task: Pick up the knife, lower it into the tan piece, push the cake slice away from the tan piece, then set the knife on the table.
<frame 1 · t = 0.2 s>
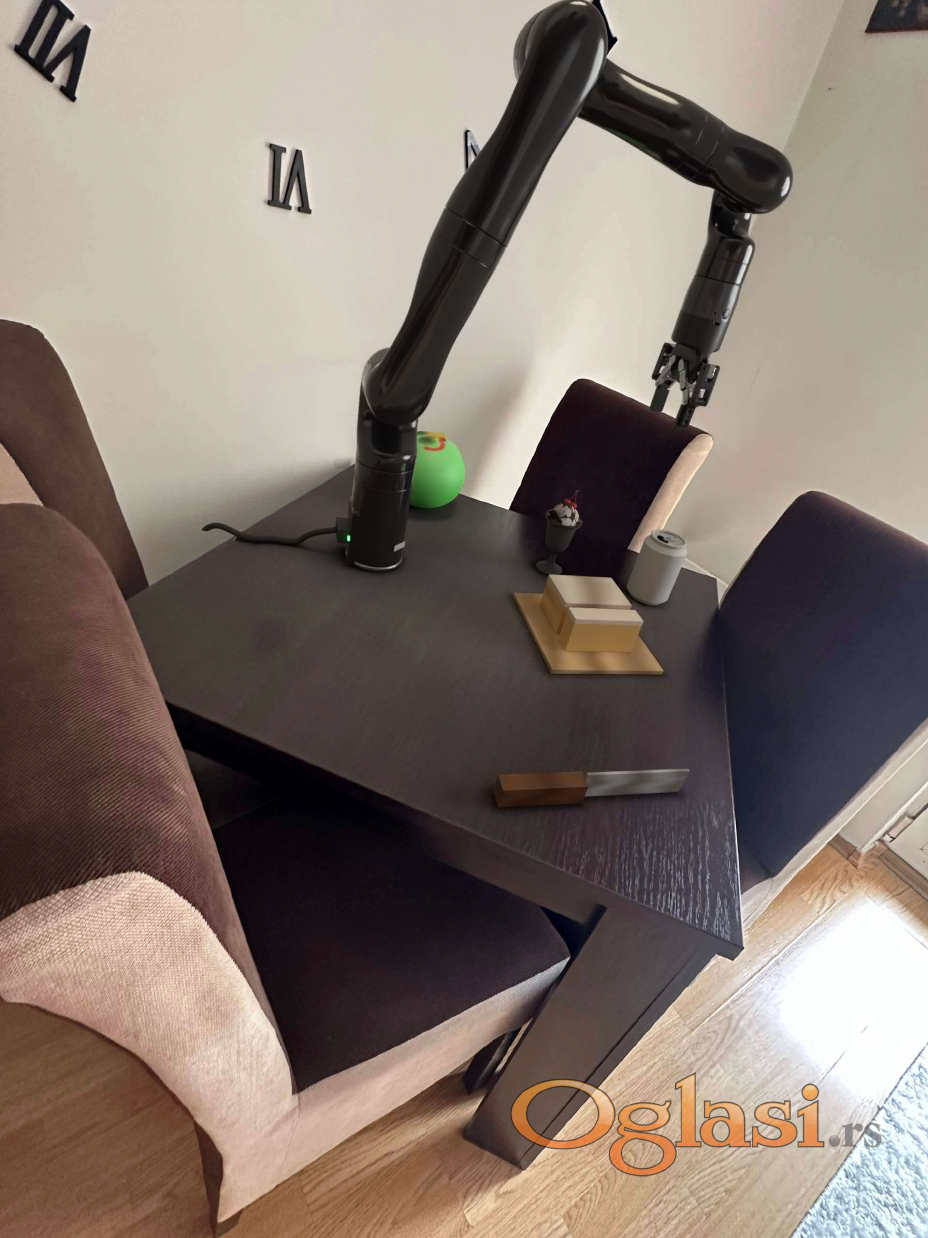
hand: (667, 419, 106), 29 cm above the table, tool pointing down, fingers open, 8 cm apart
toy bird: (416, 502, 132), on the table
cake slice: (594, 645, 98), point 1 cm above the table, touching tan piece
tan piece: (583, 633, 102), on the table
knife: (578, 795, 74), on the table
can: (645, 596, 117), on the table
sundae: (548, 569, 118), on the table
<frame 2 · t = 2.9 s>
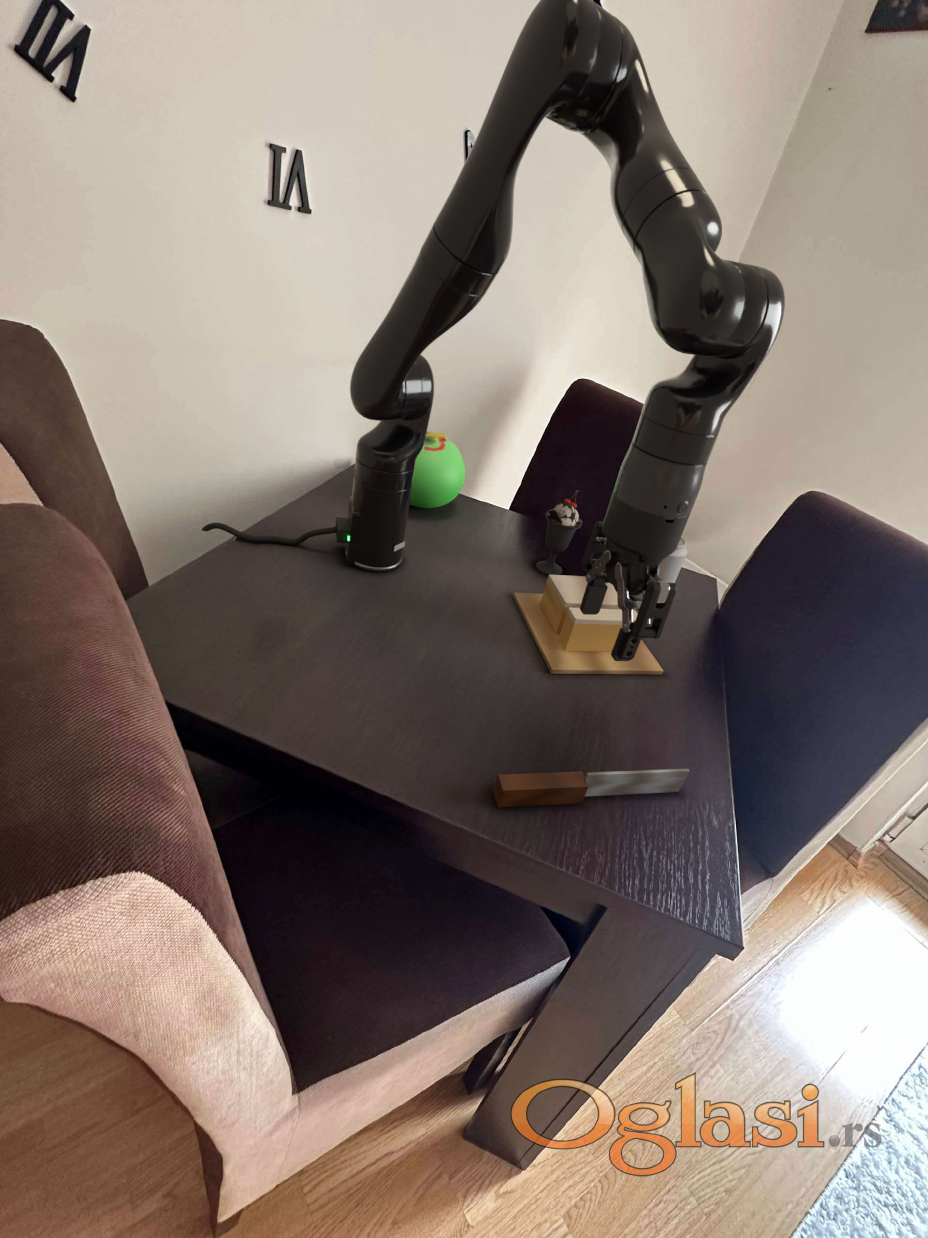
hand: (603, 635, 71), 17 cm above the table, tool pointing down, fingers open, 8 cm apart
nothing on the table moved.
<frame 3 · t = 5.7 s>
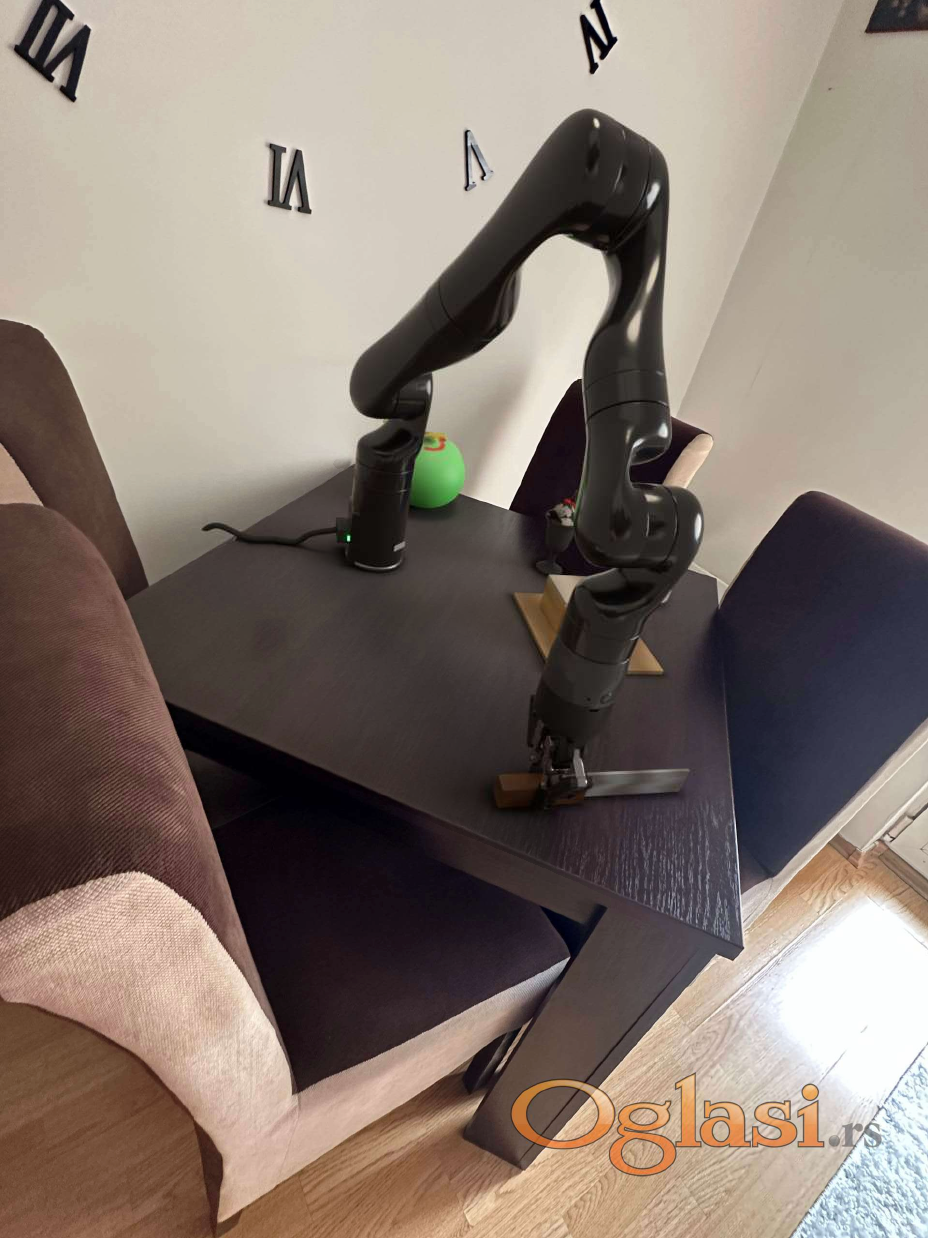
hand: (537, 797, 72), 0 cm above the table, tool pointing down, fingers closed on knife, 2 cm apart
knife: (578, 795, 74), on the table, touching gripper
everything else where it was.
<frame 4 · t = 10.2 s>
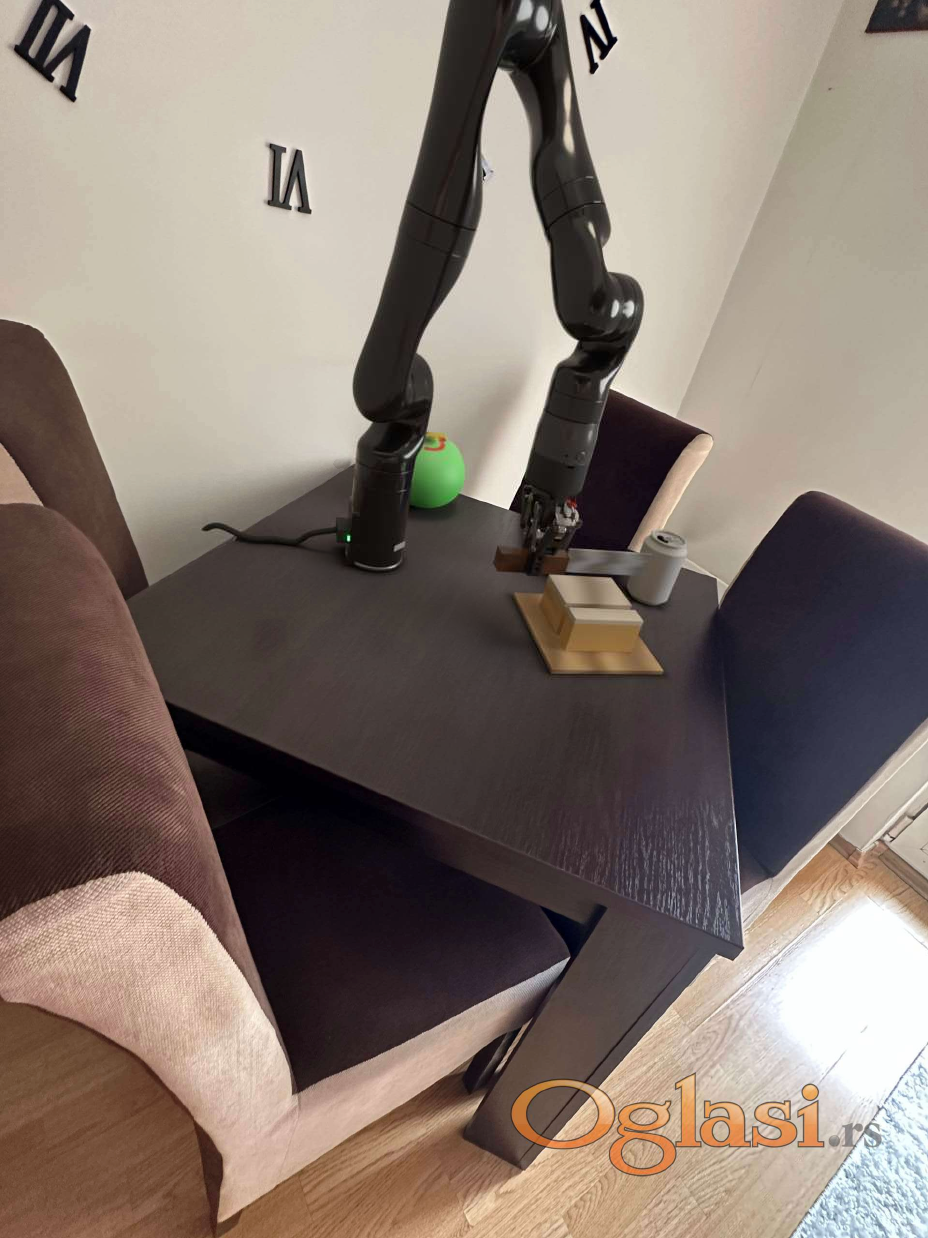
hand: (529, 569, 90), 12 cm above the table, tool pointing down, fingers closed on knife
knife: (562, 571, 92), point 12 cm above the table, touching gripper
everything else where it was.
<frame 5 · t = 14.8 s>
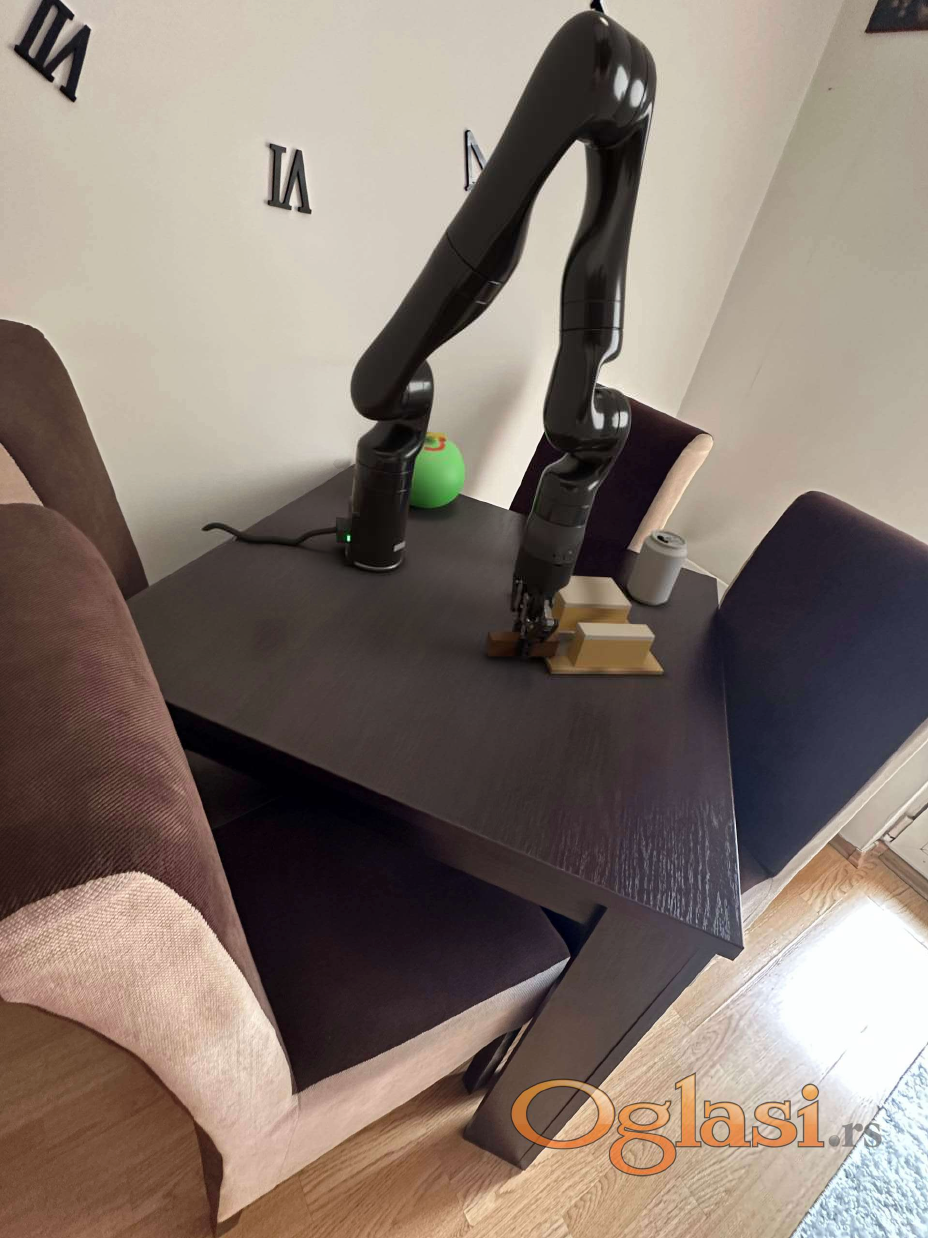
hand: (519, 651, 93), 1 cm above the table, tool pointing down, fingers closed on knife, 2 cm apart
cake slice: (604, 661, 95), point 1 cm above the table, touching tan piece, knife
knife: (552, 651, 94), point 1 cm above the table, touching cake slice, gripper
everything else where it was.
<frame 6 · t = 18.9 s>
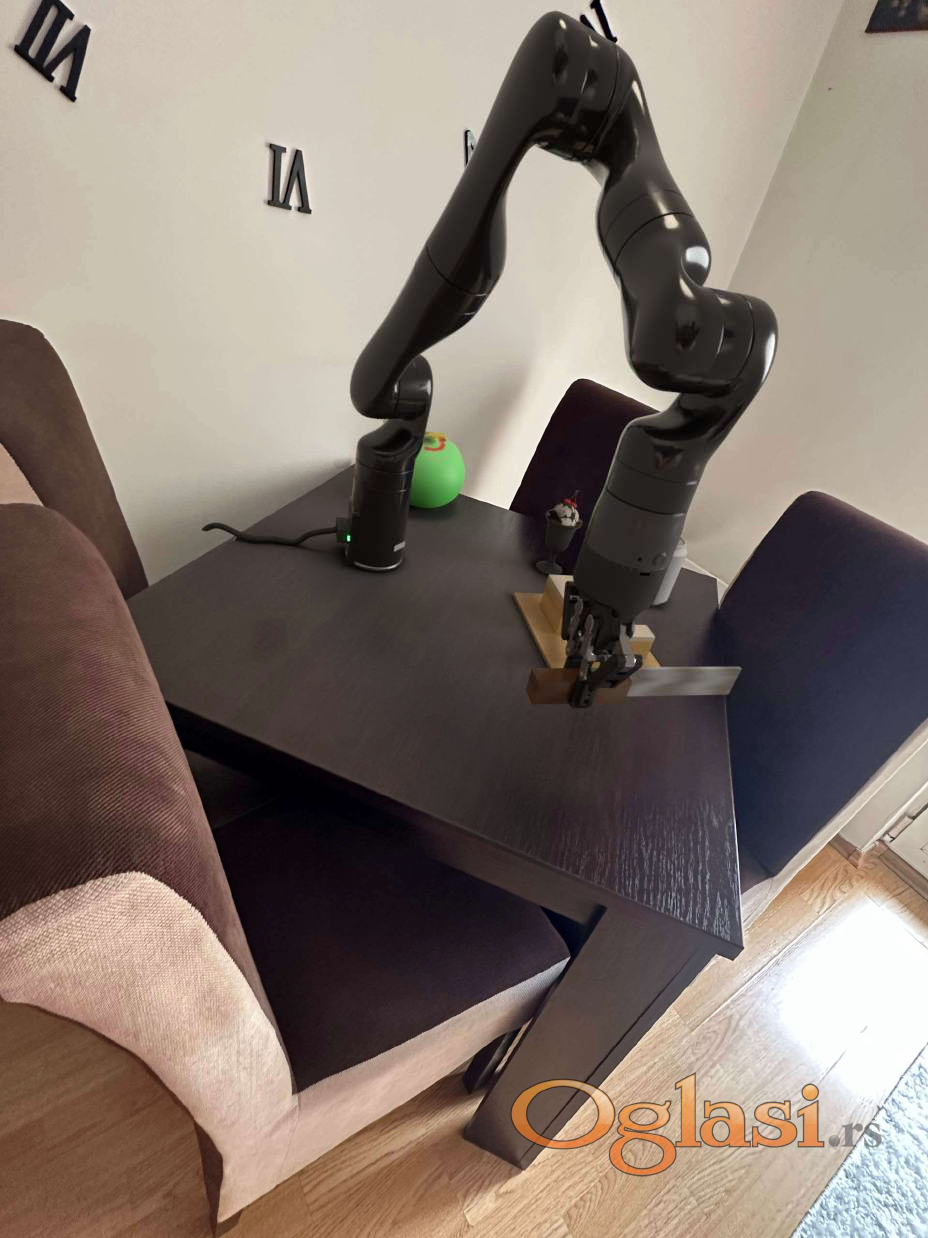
hand: (573, 696, 65), 14 cm above the table, tool pointing down, fingers closed on knife
cake slice: (604, 661, 95), point 1 cm above the table, touching tan piece
knife: (619, 695, 67), point 14 cm above the table, touching gripper
everything else where it was.
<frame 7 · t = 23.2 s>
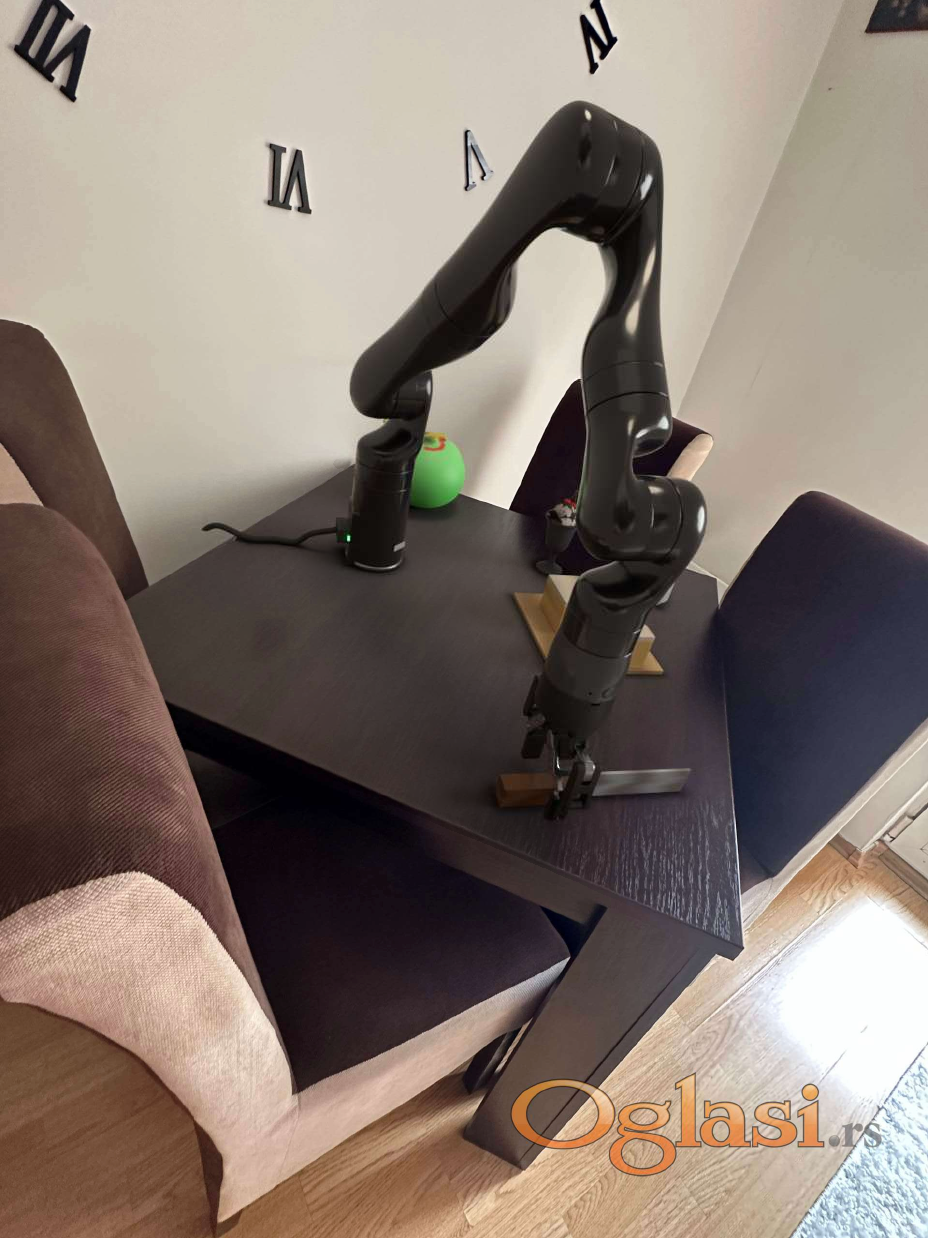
hand: (540, 786, 71), 2 cm above the table, tool pointing down, fingers open, 8 cm apart
knife: (580, 795, 74), on the table
everything else where it was.
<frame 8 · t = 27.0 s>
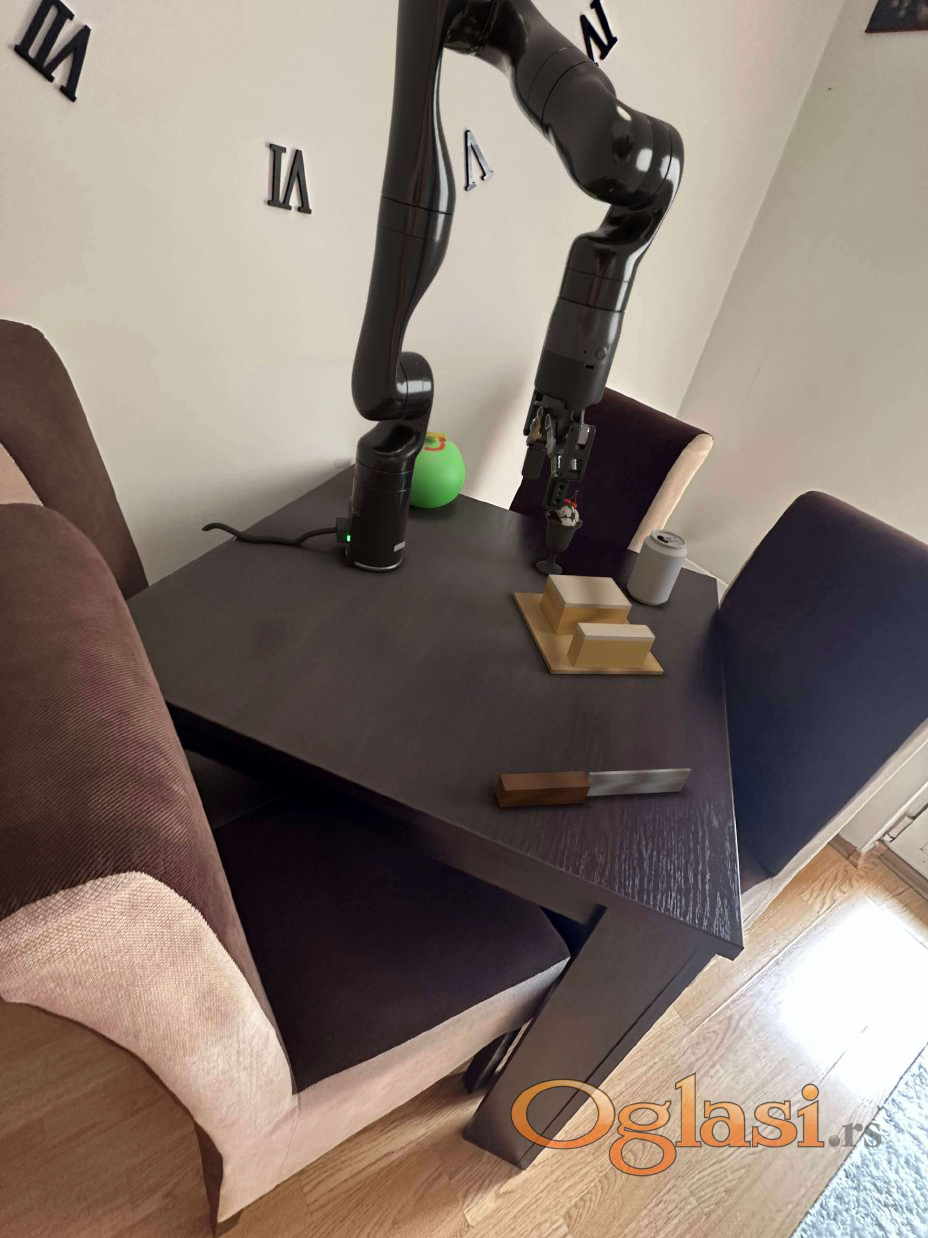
hand: (540, 492, 77), 26 cm above the table, tool pointing down, fingers open, 8 cm apart
nothing on the table moved.
at the end: cake slice moved 3.9 cm from its start; cake slice tilted 0°; knife inside the target area (0.2 cm from its centre), on the table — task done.
